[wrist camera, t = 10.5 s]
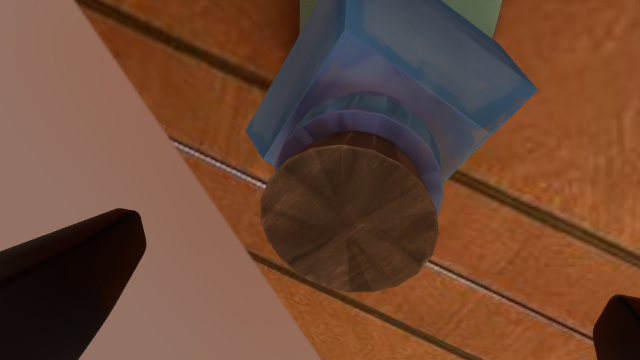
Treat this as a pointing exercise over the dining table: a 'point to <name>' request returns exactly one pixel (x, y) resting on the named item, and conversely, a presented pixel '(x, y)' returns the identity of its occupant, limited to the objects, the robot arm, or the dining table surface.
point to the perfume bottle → (375, 135)
